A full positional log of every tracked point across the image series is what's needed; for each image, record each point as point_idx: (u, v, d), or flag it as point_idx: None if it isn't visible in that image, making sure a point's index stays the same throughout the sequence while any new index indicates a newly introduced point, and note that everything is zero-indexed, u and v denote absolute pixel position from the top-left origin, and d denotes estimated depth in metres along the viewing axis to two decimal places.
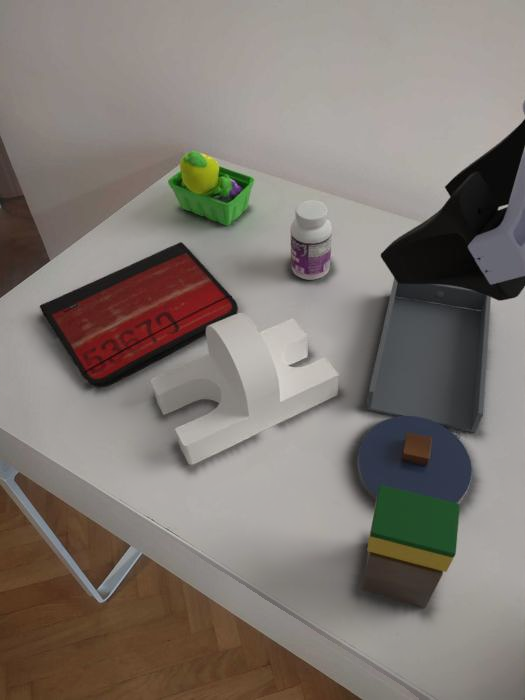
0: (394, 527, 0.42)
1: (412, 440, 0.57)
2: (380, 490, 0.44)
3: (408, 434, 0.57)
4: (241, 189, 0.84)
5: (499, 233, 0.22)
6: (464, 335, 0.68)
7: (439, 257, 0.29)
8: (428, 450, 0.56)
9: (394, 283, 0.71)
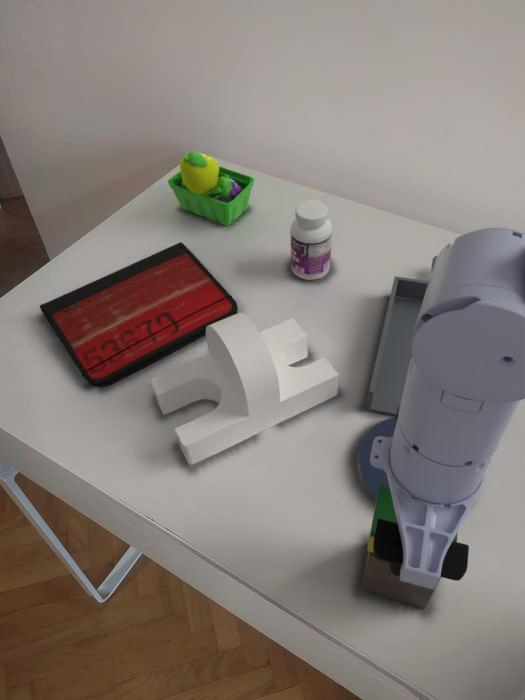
0: None
1: None
2: (380, 490, 0.44)
3: None
4: (241, 189, 0.84)
5: (402, 568, 0.32)
6: None
7: None
8: None
9: (394, 283, 0.71)
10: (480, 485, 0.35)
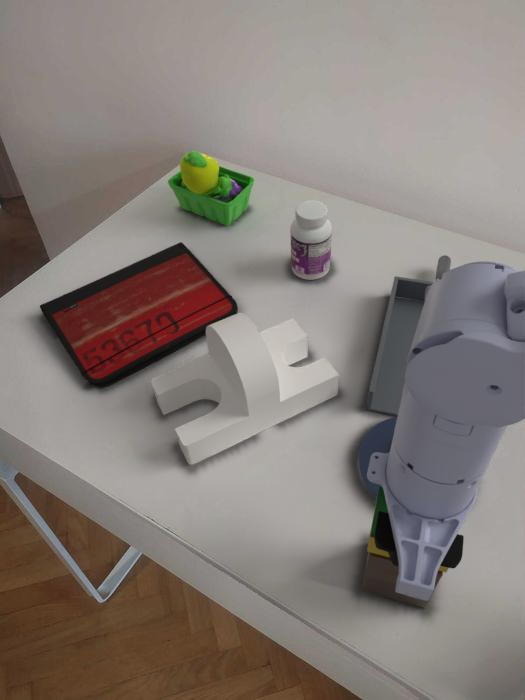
0: None
1: None
2: (380, 490, 0.44)
3: None
4: (241, 189, 0.84)
5: (398, 580, 0.34)
6: None
7: None
8: None
9: (394, 283, 0.71)
10: (473, 500, 0.37)
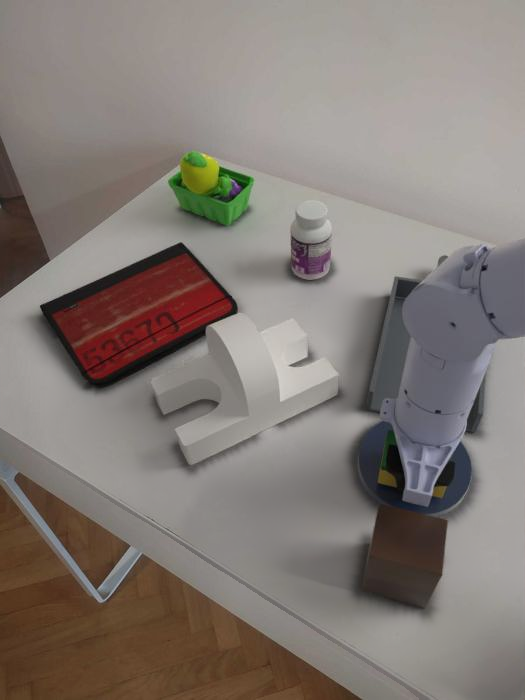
0: None
1: None
2: (388, 433, 0.54)
3: None
4: (241, 189, 0.84)
5: (405, 490, 0.44)
6: None
7: None
8: None
9: (394, 283, 0.71)
10: (462, 432, 0.47)
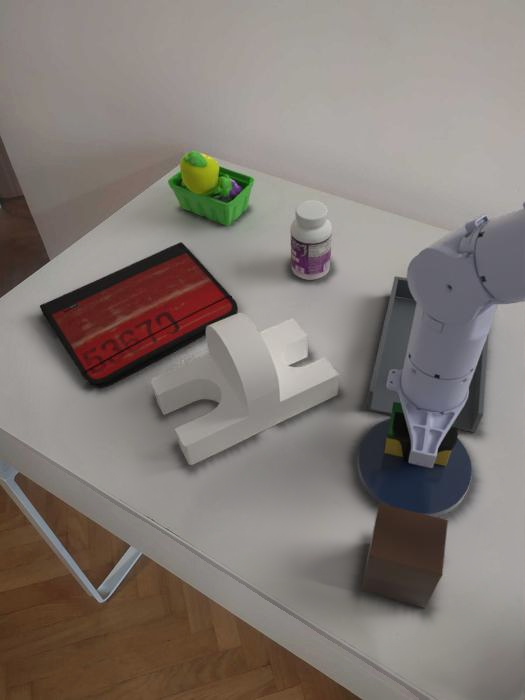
0: None
1: None
2: (394, 405, 0.57)
3: None
4: (241, 189, 0.84)
5: (410, 452, 0.47)
6: None
7: None
8: None
9: (394, 283, 0.71)
10: (464, 399, 0.50)
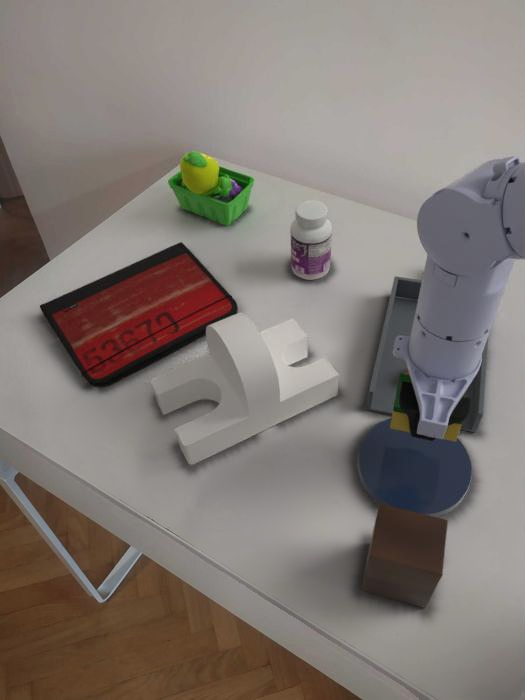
0: None
1: None
2: (400, 377, 0.54)
3: None
4: (241, 189, 0.84)
5: (419, 421, 0.44)
6: None
7: None
8: None
9: (394, 283, 0.71)
10: (477, 367, 0.46)
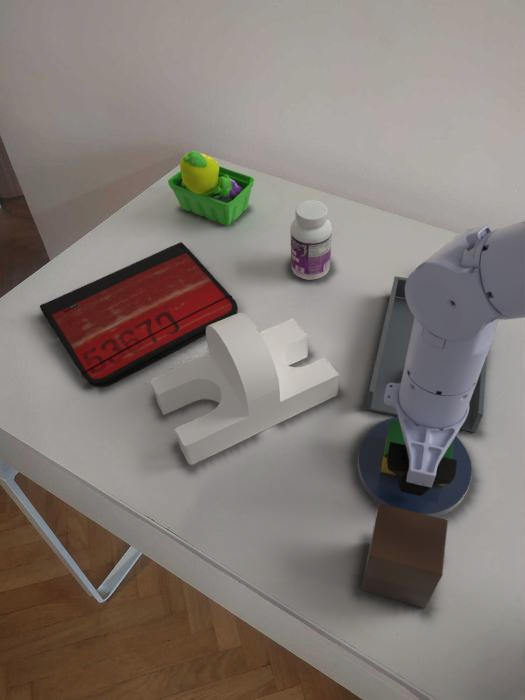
0: None
1: None
2: (391, 423, 0.56)
3: None
4: (241, 189, 0.84)
5: (408, 470, 0.45)
6: None
7: None
8: None
9: (394, 283, 0.71)
10: (465, 415, 0.48)
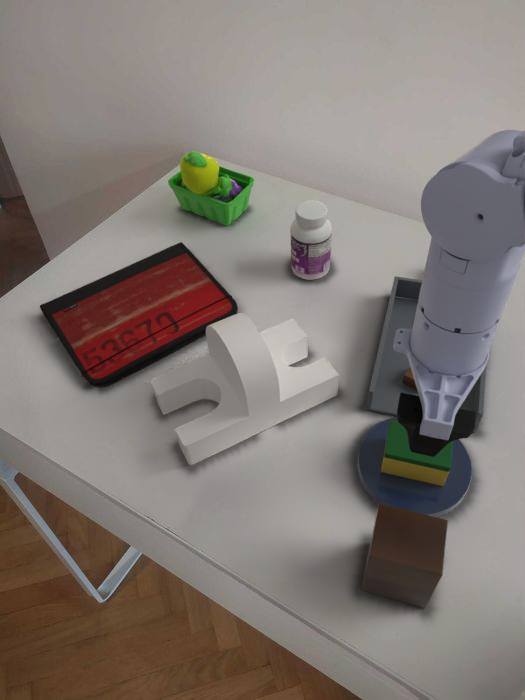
0: (403, 450, 0.54)
1: None
2: (391, 423, 0.56)
3: None
4: (241, 189, 0.84)
5: (422, 420, 0.40)
6: None
7: None
8: None
9: (394, 283, 0.71)
10: (485, 361, 0.43)
